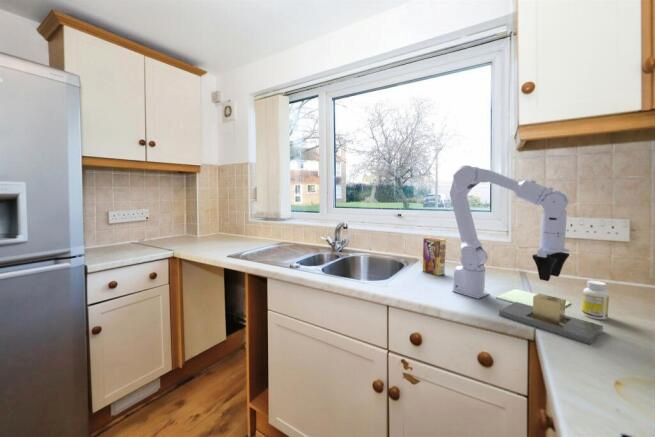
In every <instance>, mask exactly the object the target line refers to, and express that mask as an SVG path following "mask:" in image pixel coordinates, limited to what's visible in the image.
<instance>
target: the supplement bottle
mask: <svg viewBox="0 0 655 437" xmlns="http://www.w3.org/2000/svg"><path fill="white" fill-rule="evenodd" d="M606 289H607V283H606V282H602V281H598V280H587V282H586V287H585V288H584V289H583V290H582V291H583V293H582V304H581V306H582V308H581V313H582V315H583V316H585V317H587V318H590V319H595V320H607V318H608V313H609V301H610V300H609V299H610V293H609V292H608V291H607V290H606Z"/></svg>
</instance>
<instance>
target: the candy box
mask: <svg viewBox="0 0 655 437" xmlns="http://www.w3.org/2000/svg"><path fill="white" fill-rule="evenodd" d="M422 241H423V246H422V247H423V250H422V252H423V253H422V271H423V272H425V271H426V273H428V272H429V274H432V273H433V274H432V275H436V276H441V275H442V274H443V275H445V270H446V268H445V267H446V246H447V239H444V238H439V237H438V238H437V237H432V236H431V237H430V236H424V237H423V240H422Z"/></svg>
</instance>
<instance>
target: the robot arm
mask: <svg viewBox="0 0 655 437" xmlns="http://www.w3.org/2000/svg"><path fill="white" fill-rule="evenodd" d="M452 176H453V177H452V178H453V180H452V183H451V187H450V191H449V197H450V201H451V204H452V208H453V213H454V217H455V221H456V224H457V227H458V228H457V229H458V233H459V237H460V240H461V244H460V254H461V255H460V258H459V259H460V264H461V265H457V266H456V267H455V269H454V270H453V286H452V287H453V289H451V290H452V292H455V293H458V294H461V295H465V296H467V297H471V298H474V299H481V298H483V297H485V296H487V295H490V292H488V291H485V285H486V266H485V263H486V262H487V261H488V253H487V251H485V249H484V248H483V245H482V243H481V241H480V240H479V237H478V235H477V231H476V226H475V223H474V219H473V216H472V212H471V207H470V204H469V199H468V195H469V193H470V192H471V191H472V189H473V188H475V187H476V186H478V185H479V184H480V183H491V184H493V185H496V186H499V187H503V188H505V189H507V190H510V191H512V192H514V194H515V197H516V198H518V199H521V200H524V201H526V202H529V203H531V204H532V205H535V206H542V208H543V209H542V210H543V211H542V214H543V215H542V216H541V224H540V225H541V227H540V239H539V246H538V249H537V254H536V253H535V254H532V260H533V261H534V262H535V265H536V268H537V273H538V278H539V280H541V281H545V282H549V281H550V279H551V276H552V277H559V276H560V275H561V272H562V269H563V266H564V264H565V262H566V261H567V259H568V258H569V257H570V253H569V252H570V249H569V248H566V245H565V243H566V232H567V231H566V230H567V212H568V211H567V207H568V205H569V202H570V201H569V197H568V195H566V193H564V192H562V191H561V190H554V189H555V188H554V187H552V186H549V187H547V186H544V185H541V184H539V183H537V181H536V180H535V179H531V180H528V179H525V180H522V181H518V180H516V179H513V178H510V177H508V176H505V175H504V174H500V173H499V172H496V171H493V170H490V169H485V168H480V167H477V166H471V165H462V166H461V167H459V168H458V169H457V170H456V172H455V173H454V174H453V175H452ZM553 190H554V191H553Z"/></svg>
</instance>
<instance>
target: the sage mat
mask: <svg viewBox="0 0 655 437" xmlns="http://www.w3.org/2000/svg"><path fill="white" fill-rule="evenodd" d="M537 294H538V293H533V292H530V291H525V290H521V289H518V288H517V289H516V288H514V289H512V290H511V289H510V291H509V290H508V291H507V292H504V293H502V294H501V295H498V296H496V299H498V300H502V301H505V302H509V303H511V304H513V303H515V302H519V303H522V304H526V305H530V306H533V296H535V295H537ZM571 304H572V303H571V302H570V301H567V300H566V304H565V308H567V307H568V306H570V305H571Z"/></svg>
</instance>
